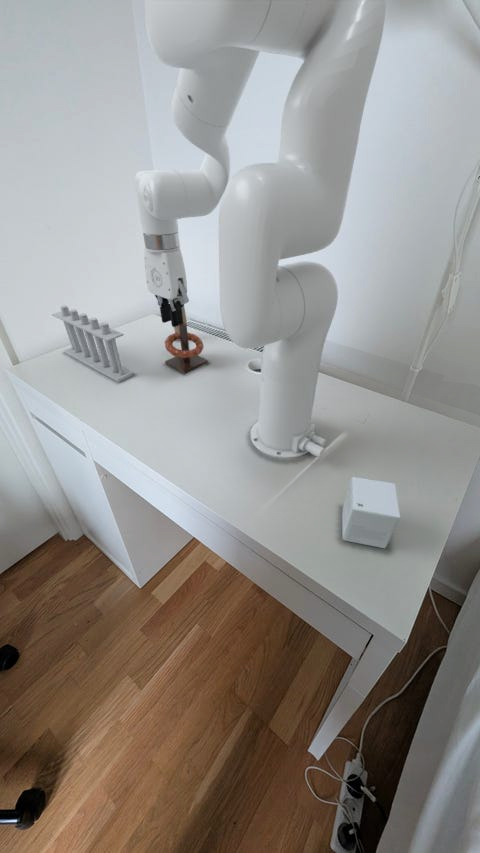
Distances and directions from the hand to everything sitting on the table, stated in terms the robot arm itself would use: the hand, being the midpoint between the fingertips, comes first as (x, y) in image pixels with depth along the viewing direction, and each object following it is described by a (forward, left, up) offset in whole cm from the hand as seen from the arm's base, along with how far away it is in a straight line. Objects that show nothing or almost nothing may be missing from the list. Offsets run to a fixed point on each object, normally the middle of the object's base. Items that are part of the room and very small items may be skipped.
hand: (172, 322), depth 85 cm
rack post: (-4, 0, -10) cm, 11 cm away
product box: (-62, +15, -10) cm, 65 cm away
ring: (-4, 0, -5) cm, 6 cm away
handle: (+9, -9, -10) cm, 17 cm away
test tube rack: (+14, +16, -10) cm, 23 cm away
